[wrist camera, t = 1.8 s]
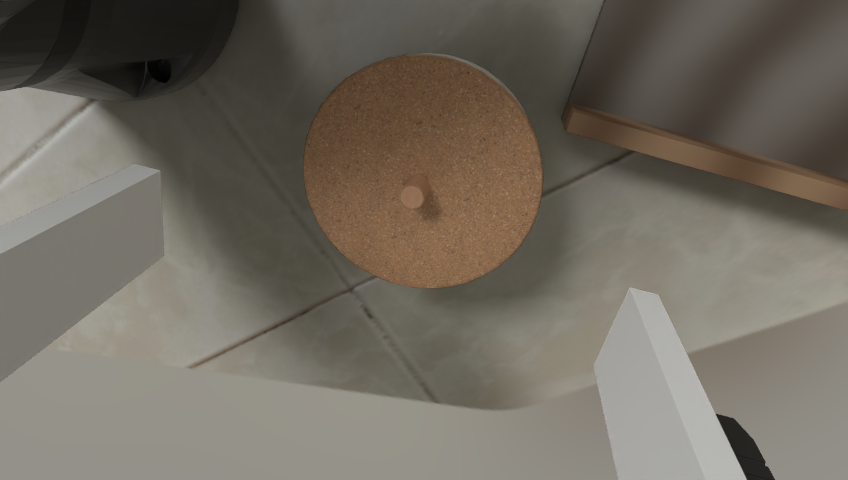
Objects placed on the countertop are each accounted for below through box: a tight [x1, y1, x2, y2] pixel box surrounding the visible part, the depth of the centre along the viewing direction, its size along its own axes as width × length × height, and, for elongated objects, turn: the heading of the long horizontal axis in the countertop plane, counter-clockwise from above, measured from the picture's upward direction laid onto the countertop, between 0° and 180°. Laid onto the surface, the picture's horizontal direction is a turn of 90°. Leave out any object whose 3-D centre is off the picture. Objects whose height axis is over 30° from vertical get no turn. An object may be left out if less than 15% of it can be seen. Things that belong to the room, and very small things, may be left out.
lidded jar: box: [303, 53, 543, 288], centre depth 25 cm, size 11×11×9 cm
